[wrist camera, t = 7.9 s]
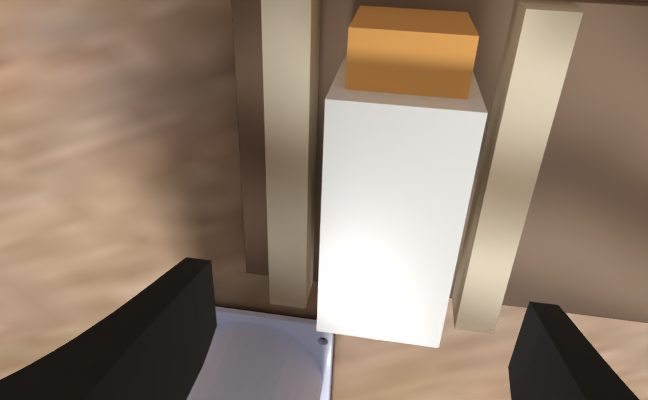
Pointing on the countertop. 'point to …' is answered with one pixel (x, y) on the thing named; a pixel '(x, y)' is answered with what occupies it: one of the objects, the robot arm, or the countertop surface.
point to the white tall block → (397, 173)
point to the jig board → (494, 157)
